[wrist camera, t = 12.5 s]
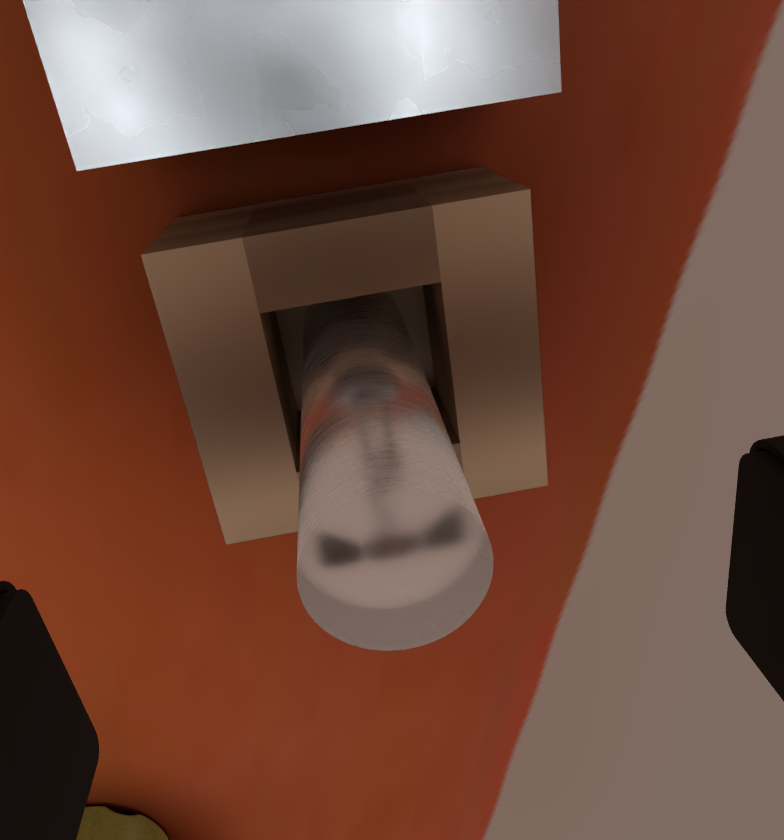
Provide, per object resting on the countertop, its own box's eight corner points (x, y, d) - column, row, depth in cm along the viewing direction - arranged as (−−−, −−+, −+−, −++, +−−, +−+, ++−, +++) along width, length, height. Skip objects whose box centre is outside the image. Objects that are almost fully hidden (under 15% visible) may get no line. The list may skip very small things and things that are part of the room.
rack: (175, 217, 21) (140, 254, 16) (482, 166, 21) (530, 188, 17) (240, 459, 24) (226, 544, 20) (503, 412, 25) (547, 485, 20)
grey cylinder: (294, 290, 21) (277, 508, 10) (395, 273, 21) (484, 471, 10) (313, 384, 22) (317, 665, 12) (409, 368, 23) (501, 632, 12)
